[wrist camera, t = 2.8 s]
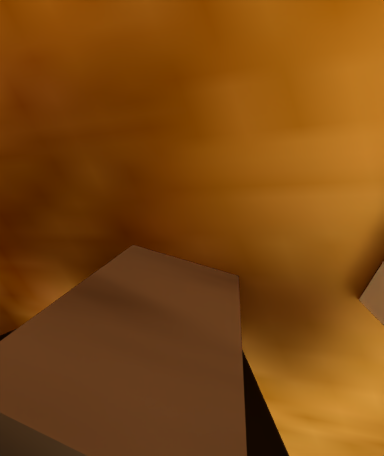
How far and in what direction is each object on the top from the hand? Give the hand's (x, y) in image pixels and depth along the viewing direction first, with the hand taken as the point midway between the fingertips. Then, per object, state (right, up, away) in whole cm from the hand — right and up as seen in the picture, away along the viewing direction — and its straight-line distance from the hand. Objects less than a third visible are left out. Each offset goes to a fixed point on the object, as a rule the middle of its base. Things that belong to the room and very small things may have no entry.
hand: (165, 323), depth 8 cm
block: (0, 0, +1) cm, 1 cm away
